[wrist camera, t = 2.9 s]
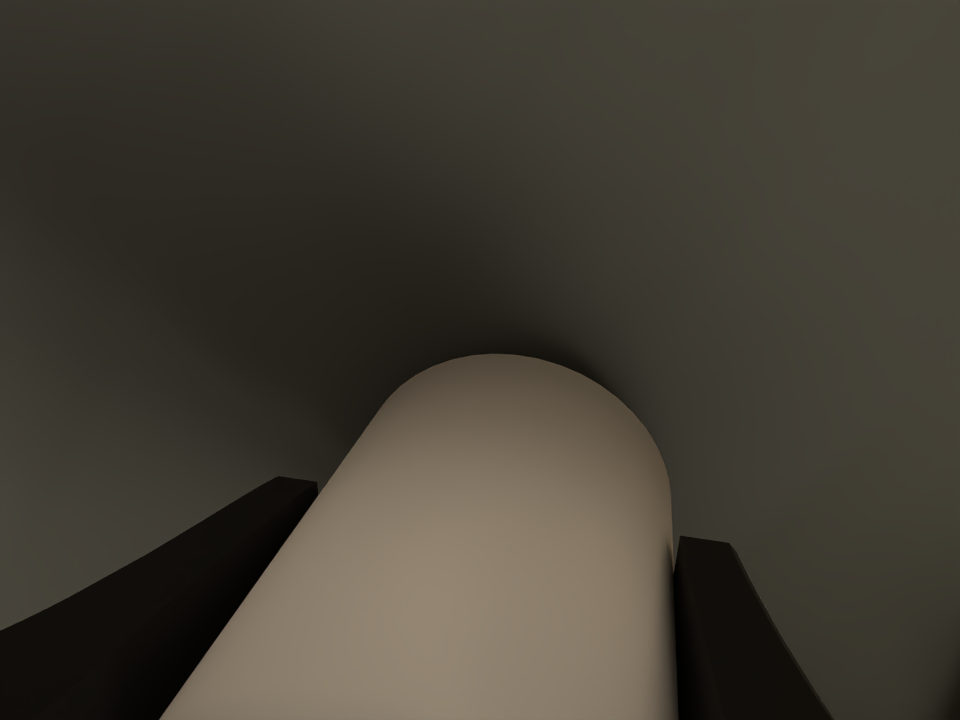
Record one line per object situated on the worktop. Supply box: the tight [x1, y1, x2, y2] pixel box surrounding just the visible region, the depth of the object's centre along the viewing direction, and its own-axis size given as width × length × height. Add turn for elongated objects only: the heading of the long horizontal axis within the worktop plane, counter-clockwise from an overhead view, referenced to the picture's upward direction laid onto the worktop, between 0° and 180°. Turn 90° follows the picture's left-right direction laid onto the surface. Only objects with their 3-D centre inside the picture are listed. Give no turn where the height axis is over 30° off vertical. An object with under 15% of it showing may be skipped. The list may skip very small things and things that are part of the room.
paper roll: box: [159, 354, 679, 720], centre depth 9 cm, size 5×5×6 cm
